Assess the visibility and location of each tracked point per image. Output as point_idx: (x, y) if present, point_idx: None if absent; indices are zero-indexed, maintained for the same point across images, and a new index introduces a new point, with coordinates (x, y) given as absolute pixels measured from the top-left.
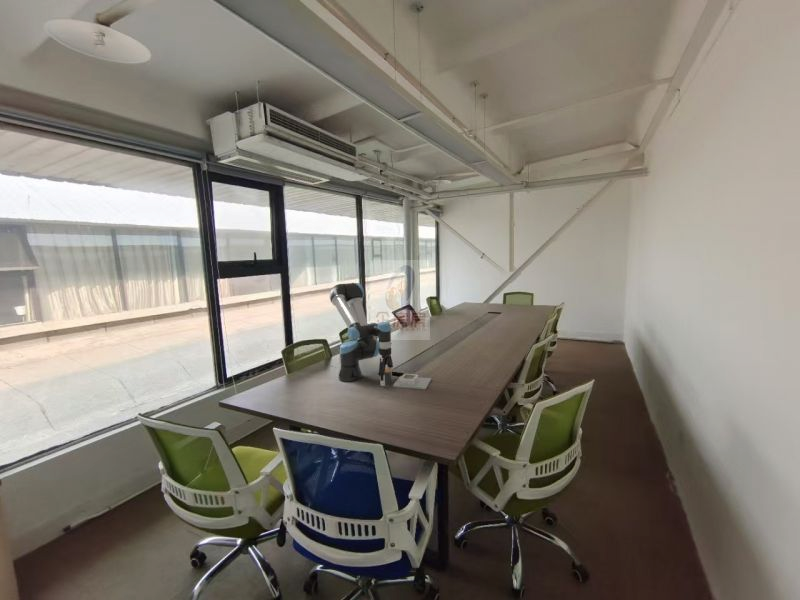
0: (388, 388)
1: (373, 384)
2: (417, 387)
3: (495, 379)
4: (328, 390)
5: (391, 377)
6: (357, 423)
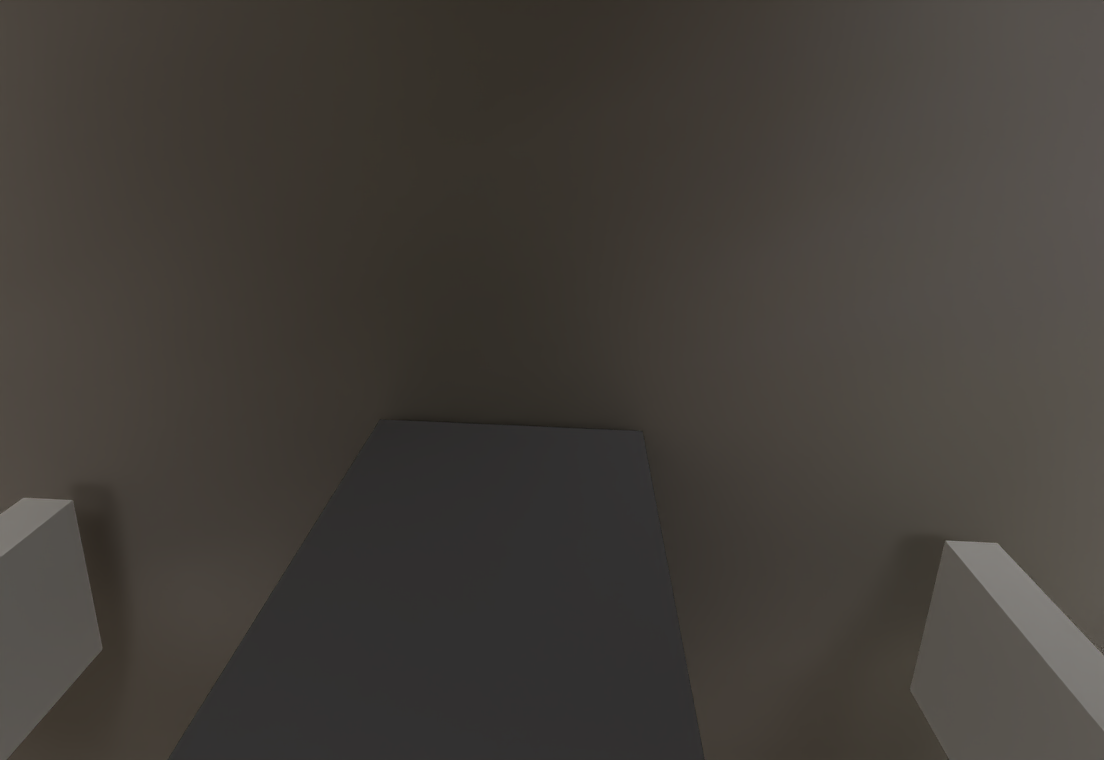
0: (62, 724)
1: (225, 96)
2: None
3: None
4: None
5: (918, 693)
6: None
